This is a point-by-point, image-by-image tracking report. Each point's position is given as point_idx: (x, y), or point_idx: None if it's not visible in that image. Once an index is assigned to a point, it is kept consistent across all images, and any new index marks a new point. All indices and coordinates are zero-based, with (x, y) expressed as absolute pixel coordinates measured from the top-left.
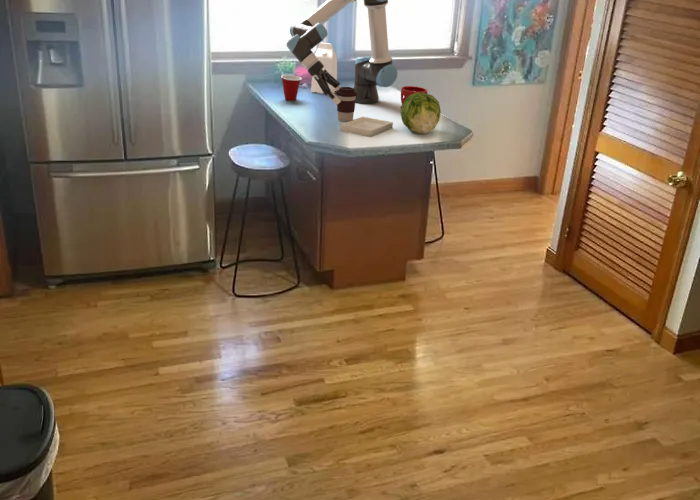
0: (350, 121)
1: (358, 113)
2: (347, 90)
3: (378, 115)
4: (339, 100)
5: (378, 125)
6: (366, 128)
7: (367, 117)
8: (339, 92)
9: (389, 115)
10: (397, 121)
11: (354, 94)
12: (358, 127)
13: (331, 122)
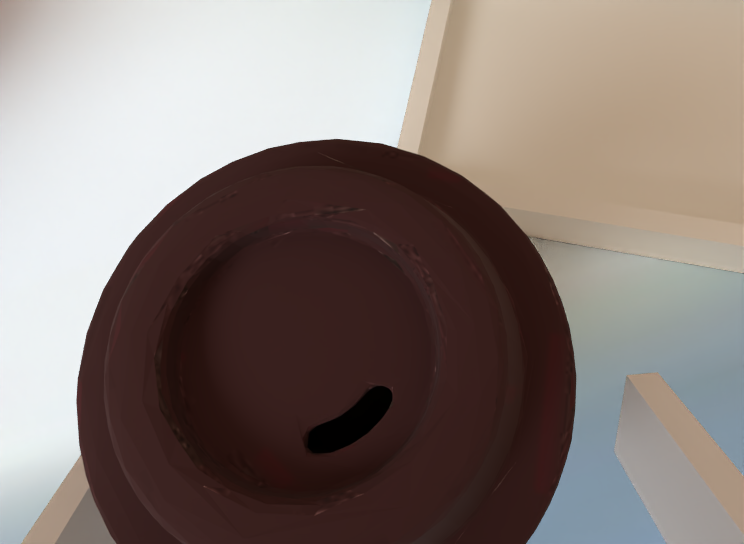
0: (665, 222)
1: (68, 359)
2: (484, 263)
3: (82, 180)
4: (673, 394)
5: (504, 36)
6: (667, 79)
7: (400, 141)
8: (534, 480)
9: (52, 110)
10: (221, 9)
11: (410, 159)
12: (685, 143)
13: (565, 485)
